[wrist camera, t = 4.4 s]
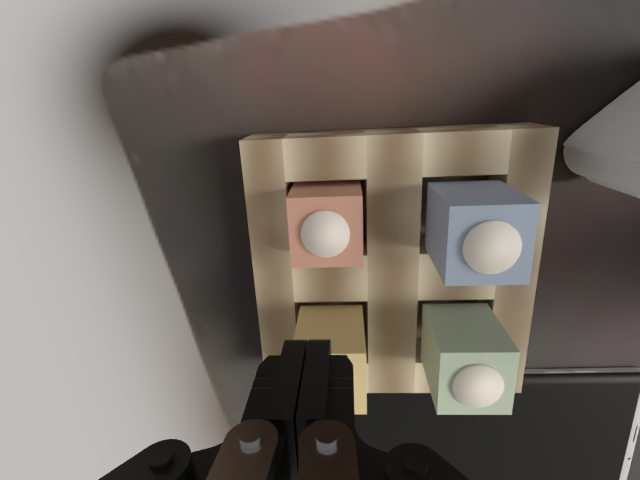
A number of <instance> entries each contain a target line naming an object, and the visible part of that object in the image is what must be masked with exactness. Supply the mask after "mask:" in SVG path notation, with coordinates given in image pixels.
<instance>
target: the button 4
mask: <svg viewBox="0 0 640 480" xmlns="http://www.w3.org/2000/svg"><path fill="white" fill-rule="evenodd" d="M420 358H421V361H422V365H423V368H424V371H425V375H426V378H427V382H428V385H429V389H430V392H431V396H432V399H433V403H434V406H435V410H436V413H437V415H512V409H513V402H514V395H515V388H516V380H517V373H518V366H519V359H520V351H519V350H518V348H517V347H516V345H515V344H514V342H513V341H512V339H511V338H510V336H509V335H508V333H507V332H506V330H505V329H504V327H503V326H502V324H501V323H500V321H499V320H498V318H497V317H496V316H495V314H494V313H493V311H492V310H491V308H490V307H489V305H488V304H487V303H458V304H423V307H422V331H421V355H420Z"/></svg>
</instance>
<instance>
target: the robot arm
mask: <svg viewBox="0 0 640 480" xmlns="http://www.w3.org/2000/svg"><path fill="white" fill-rule="evenodd" d="M99 480H469V479H468V478H467V477H465V476H464V475H463V474H462V473H461V472H459V471H458V470H457V469H456V468H455V467H453V466H452V465H451V464H450V463H449V462H447V461H446V460H445V459H444V458H442V457H441V456H440V455H439V454H438V453H436V452H435V451H434V450H432V449H431V448H429V447H427V446H425V445H422V444H418V443H404V444H400V445H397V446H396V447H394V448H393V449H391V450H390V452H389V453H388V452H385V451H381V450H378V449H375V448H373V447H371V446H369V445H367V444H366V443H365V442H364V441H362V440H361V438H360V437H359V436H358V434H357V432H356V429H355V416H354V375H353V364H352V362H351V361H350V359H349V358H348V356H347V355H331V340H330V339H309V340H308V341H307V339H306V340H285V341H284V344H283V348H282V352H281V355H268V356H267V357H266V358H265V359H264V361H263V362H262V363H261V364H260V365H259V367H258V370H257V373H256V376H255V379H254V382H253V385H252V389H251V392H250V395H249V398H248V401H247V404H246V407H245V410H244V413H243V416H242V420H241V422H240V423H239V424H237V425H235V426H234V427H233V428H232V429H230V430H229V432H228V433H227V434H226V436H225V438H224V441H223V443H221V444H219V445H217V446H214V447H211V448H208V449H204V450H200V451H196V452H192V453H191V450H190V448H189V446H188V445H187V444H186V443H184V442H183V441H181V440H177V439H168V440H163V441H159V442H157V443H154V444H152V445H150V446H149V447H147V448H146V449H144V450H143V451H141V452H140V453H138V454H137V455H135V456H134V457H132V458H130V459H129V460H127V461H126V462H124V463H123V464H121V465H120V466H118V467H117V468H115V469H114V470H112V471H111V472H110V473H108V474H106V475H105V476H103V477H102V478H100V479H99Z"/></svg>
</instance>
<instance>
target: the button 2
mask: <svg viewBox="0 0 640 480" xmlns="http://www.w3.org/2000/svg"><path fill="white" fill-rule="evenodd" d="M306 339H307V341H308V340H309V339H330V340H331V355H347V356H348V358H349V359H350V361H351V362H352V364H353V375H354V414H367V369H366V344H365V332H364V320H363V309H362V305H323V306H300V309H299V314H298V319H297V324H296V329H295V334H294V339H293V340H306Z"/></svg>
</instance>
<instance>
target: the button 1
mask: <svg viewBox="0 0 640 480" xmlns="http://www.w3.org/2000/svg"><path fill="white" fill-rule="evenodd" d="M286 207H287V220H288V233H289V246H290V259H291V268H328V267H363V196H362V190H361V184H360V179H357V180H329V181H300V182H294V184H293V186H292V188H291V190H290V191H289V193H288V195H287V197H286Z"/></svg>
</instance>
